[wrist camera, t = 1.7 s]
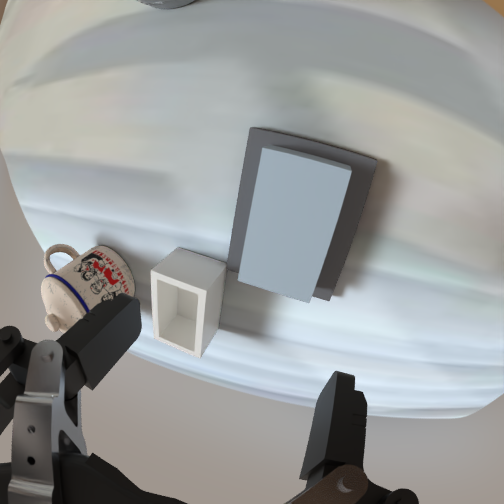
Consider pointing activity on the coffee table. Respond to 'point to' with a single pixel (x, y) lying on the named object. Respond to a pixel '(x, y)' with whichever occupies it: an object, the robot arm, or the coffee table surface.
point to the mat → (348, 213)
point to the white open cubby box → (187, 300)
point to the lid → (292, 221)
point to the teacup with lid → (82, 284)
